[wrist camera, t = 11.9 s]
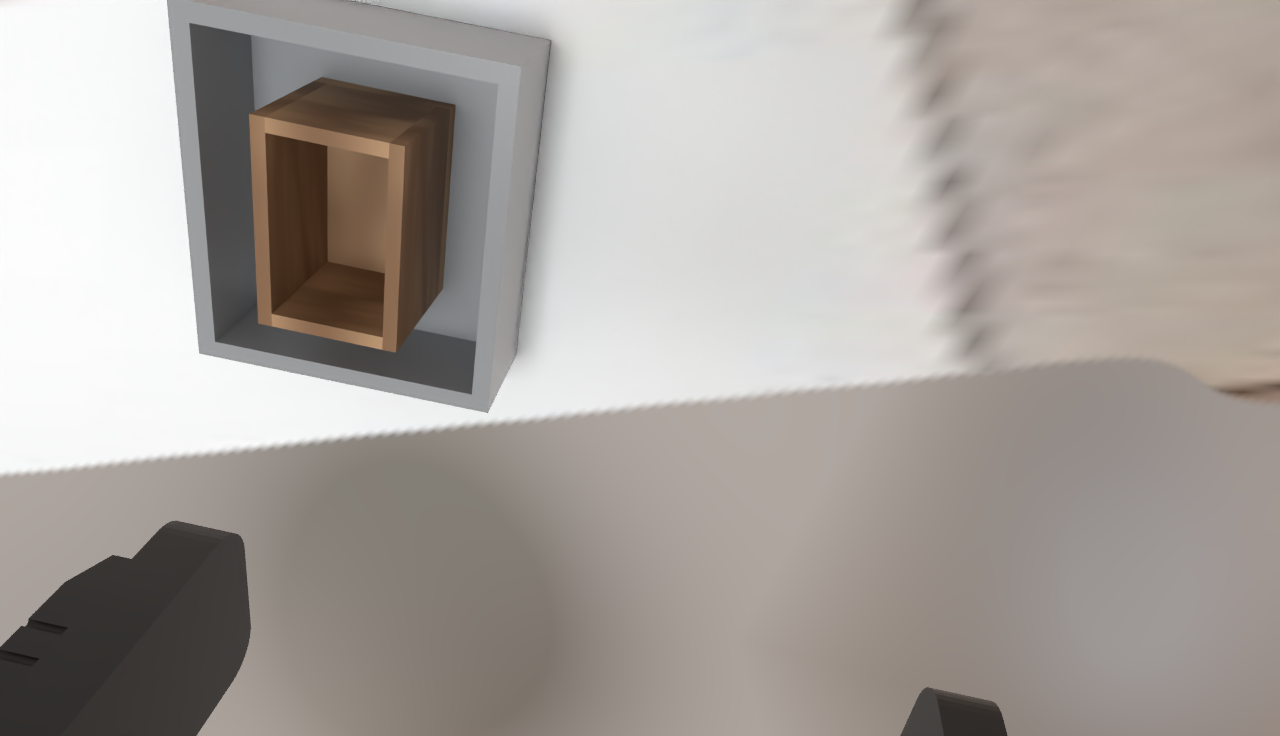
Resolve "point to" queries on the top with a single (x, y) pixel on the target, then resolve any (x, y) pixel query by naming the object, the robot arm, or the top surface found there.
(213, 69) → the crate large
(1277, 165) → the top surface
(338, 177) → the crate small
